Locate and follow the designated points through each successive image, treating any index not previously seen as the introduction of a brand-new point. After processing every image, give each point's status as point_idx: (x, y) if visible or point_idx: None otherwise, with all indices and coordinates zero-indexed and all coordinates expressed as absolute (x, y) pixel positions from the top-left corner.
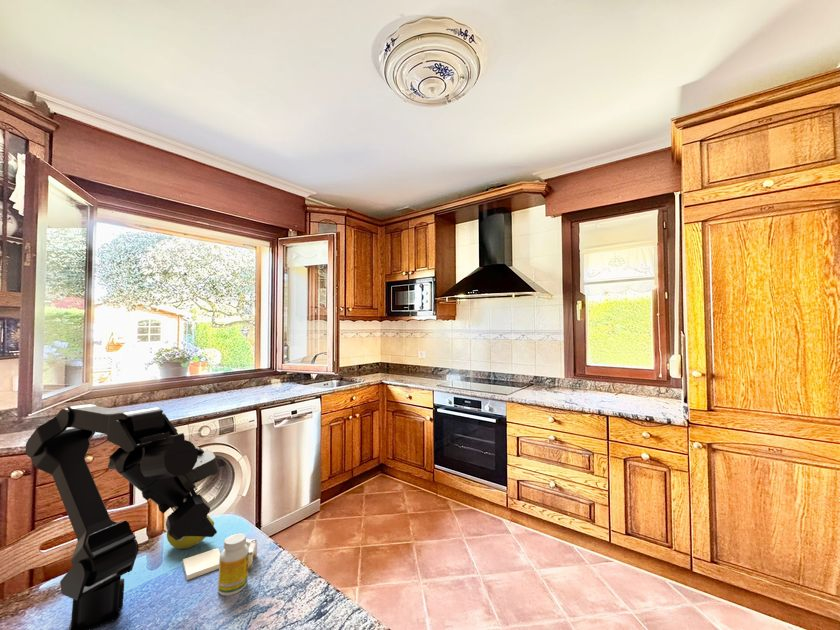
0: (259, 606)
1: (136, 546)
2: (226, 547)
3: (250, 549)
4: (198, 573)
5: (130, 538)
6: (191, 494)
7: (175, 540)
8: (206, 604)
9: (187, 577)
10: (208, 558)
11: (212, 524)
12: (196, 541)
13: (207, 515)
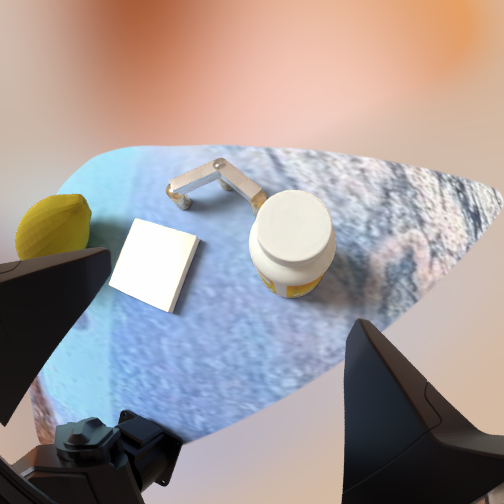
0: (396, 266)
1: (105, 468)
2: (300, 264)
3: (246, 185)
4: (178, 290)
5: (85, 490)
6: (4, 309)
7: None
8: (295, 330)
9: (170, 311)
10: (151, 250)
11: (379, 348)
12: (86, 241)
13: (56, 196)
